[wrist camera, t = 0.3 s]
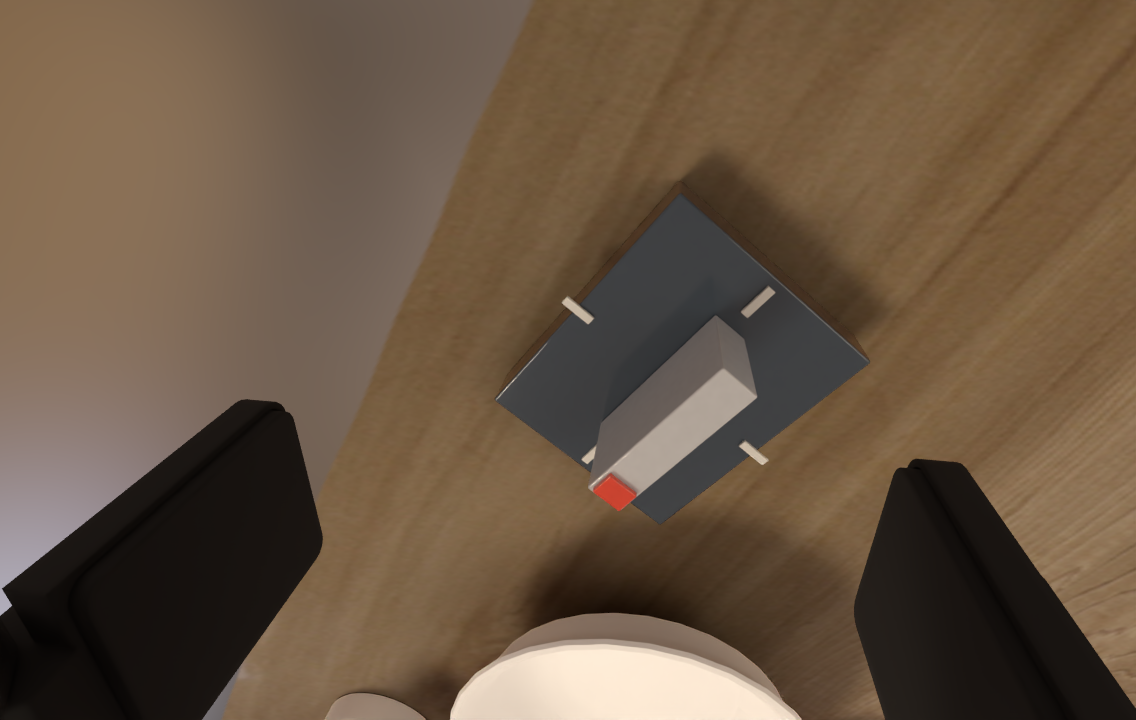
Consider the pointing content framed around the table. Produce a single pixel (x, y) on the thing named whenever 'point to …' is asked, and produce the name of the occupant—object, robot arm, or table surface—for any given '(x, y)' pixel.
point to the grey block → (672, 413)
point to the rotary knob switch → (680, 344)
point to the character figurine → (370, 708)
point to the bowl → (619, 675)
